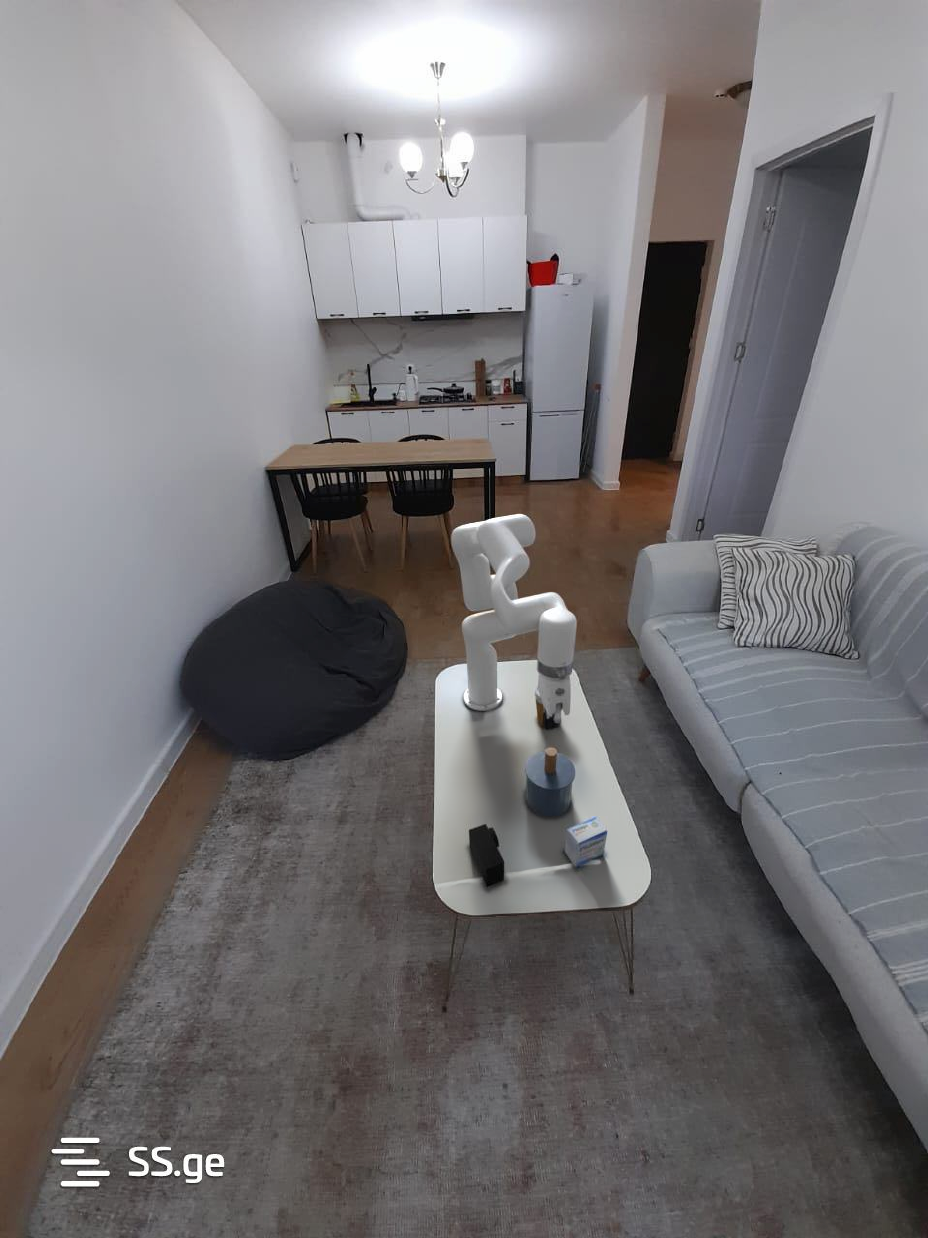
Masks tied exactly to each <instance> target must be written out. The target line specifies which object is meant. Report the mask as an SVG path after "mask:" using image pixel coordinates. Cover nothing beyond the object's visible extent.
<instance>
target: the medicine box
mask: <svg viewBox="0 0 928 1238" xmlns="http://www.w3.org/2000/svg"><path fill="white" fill-rule="evenodd" d="M607 837H608V829H606V827H605V826H604V825H603V824H602V822H601V821H600V820H599V818H598V817H597V816H594V817H592V818H589V819H587V820H585V821H582V822H580V823H578V824H576V825H573V826H571V827H569V828H567V829H566V836H565V846H564V853H565V854H566V856H567V857H568V858H569V860H570V861H571V864H572V865H573V866H574V867H575V868H578V867H580V866H582V865H584V864H586V863H588V862H590V861H592V860H593V859H596V858H597V857H601V856H603V855H604V854H605V848H606V842H607Z"/></svg>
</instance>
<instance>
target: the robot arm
mask: <svg viewBox="0 0 928 1238" xmlns="http://www.w3.org/2000/svg"><path fill="white" fill-rule="evenodd" d="M536 536H537V535H536V527H535V524H534V523H533V521H532V519H530V518H529V516H528V515H525V514H522V513H517V514H510V515H505V516H499V517H493V518H489V519H486V520H484V521H477V522H472V523H465V524H462V525H460V526H458V527H456V528H454V529H453V530H452V533H451V537H450V542H451V544H450V545H451V548H452V552H453V553H454V556H455V558H456V560H457V562H458V565H459V571H460V579H461V580H460V581H461V588H462V598H463V602H464V605H465V608H466V609H467V610H469V611H471V612H478V613H474V614H471V615H469V616H467V617H465V618H464V620H462V623H461V632H462V637H463V641H464V647H465V655H466V657H465V658H466V676H467V677H466V678H467V688H466V690H465V691H464V693H463V702H464V704H465V705H466V706H467V707H468V708H470V709H472V710H475V711H480V712H482V711H483V712H484V711H491V710H493V709H496V708H498V707H499V705H501V704H502V701H503V693H502V691H501V689H499V688H498V653H497V651H496V649H495V648H494V647H493V645H492V644H493V643H497V642H501V641H504V640H505V641H506V640H508V639H512V638H514V637H516V636H517V635H518V636H519V635H524V634H527V633H531V632H535V631H536V632H537V631H538V636H537V637H538V638H537V639H538V640H537V656H536V657H537V659H536V671H537V674H538V678H537V685H538V691H539V694H540V697H541V700H542V702H543V710H544V713H543V723H542V725H543V726H544V727H543V726H542V727H543V730H545V731H548V730H555V729H558V728H559V724H561V723H562V712H563V713H564V716H569V715H570V713H571V700H572V699H571V698H572V695H571V693H572V689H571V688H572V686H571V685H572V684H571V675H572V673H573V666H574V657H575V656H574V655H575V647H576V637H577V626H578V620H577V618H576V615H574V613H573V612H571V611H570V610H568V608H567V605H566V604H565V601H564V600H563V598H562V597H561V595H560V594H558V593H557V592H554V591H549V592H543V593H539V594H534V595H531V596H530V595H529V596H525V597H520V598H519V594H518V588H517V585H516V582H517V581H519V580H520V579H522V577H524V575H525V574H527V572H528V570H529V568H530V566H531V565H530V564H531V563H530V562H531V561H530V557H529V555H528V554H527V553H526V551H525V549H524V548H527V547H530V546H532V545H533V544H534V542H535V540H536ZM491 568H492V569H493V571H494V573H495V574H491ZM480 611H481V612H480ZM561 709H562V710H561Z"/></svg>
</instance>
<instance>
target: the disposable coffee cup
mask: <svg viewBox="0 0 928 1238" xmlns="http://www.w3.org/2000/svg"><path fill="white" fill-rule="evenodd" d="M533 696H534V699H535V707H536V716H537V717H536V718H537V722H538V724H539V725H540V726H541V727H543V728H544V726H543V725H542V723H543V713H544V710H543V702H542V700H541V697H540V694H539V691H538V684H537V685H536V686H535V689H534V690H533ZM561 711H563V709H561Z"/></svg>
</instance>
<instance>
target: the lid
mask: <svg viewBox="0 0 928 1238" xmlns="http://www.w3.org/2000/svg"><path fill="white" fill-rule="evenodd" d="M524 772H525V777H526V778H528V779H529V781H530V782H531V783H532V784H534V785H535V786H537V787H539V788H541V789H544V790H549V791H557V790H562V789H564V788H566V787H568V786H569V785H570V784H571V783H572V784H573V782H574V781H575V778H576V767H575V765H574V763H573V762H572V760H571V759H570V758H569V757H568V756H566V755H565V754H563V753H560V752H558V750H557V749H556V748H555V747H552V746H550V747H547V748H546V749H545V750H540V751H537V752H534V753H533V754H531V755H530V756H529V757H528V758H527V760H526V761H525V765H524Z"/></svg>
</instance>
